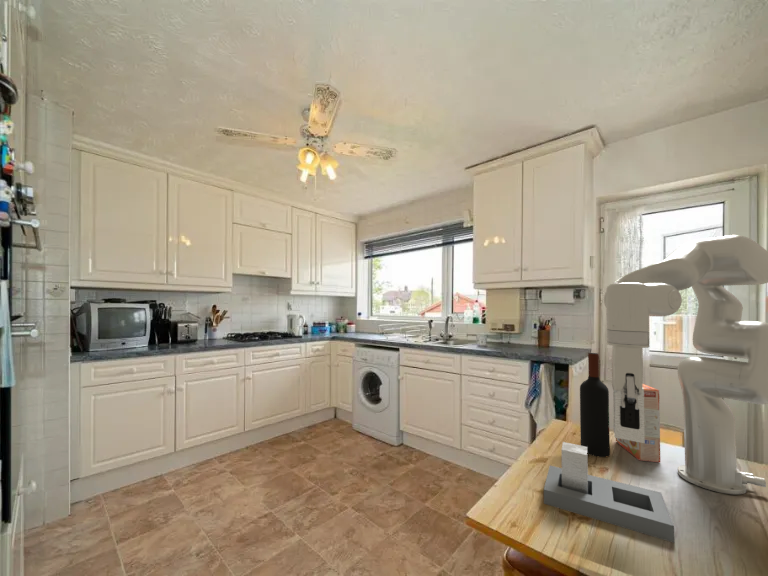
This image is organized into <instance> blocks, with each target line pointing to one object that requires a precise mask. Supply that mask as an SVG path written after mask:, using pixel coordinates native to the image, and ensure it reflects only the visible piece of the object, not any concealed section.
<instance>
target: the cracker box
mask: <svg viewBox="0 0 768 576" xmlns="http://www.w3.org/2000/svg"><path fill="white" fill-rule="evenodd" d="M643 389H644V430H645V443H640V442H635V441H630V440H625V439H619V438H615V442H616V441H617V442H618V443H619V444H618V443H617V442H616V443H617V444H618V445H619V446H621V447H622V448H623V449H625V451H627V452H628V453H629V454H631V455H632V456H633V457H635V458H636V459H637V460H638V461H642V462H652V463H661V425H660V423H661V417H660V414H661V410H660V407H661V406H660V404H661V403H660V390H659V389H657V388H655V387H652V386H650V385H647V384H645V383H643Z"/></svg>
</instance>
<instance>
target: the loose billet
mask: <svg viewBox="0 0 768 576" xmlns="http://www.w3.org/2000/svg"><path fill="white" fill-rule="evenodd" d="M612 390H613V389H612ZM638 391H639V389H638ZM624 392H625V393H627V390H624ZM638 394H639V393H638ZM612 395H613V399H612V400H613V433H614V437H615V439H616V438H619V439H625V440H630V441H635V442H640V443H645V430H644V389H643V388H642V394H641V395H638V409H639V416H640V429H632V428H627V427H622V426H621V424H620V407H622V399H621V391H617V393H616V392H615V391H614V390H613V393H612ZM625 397H627V396H625Z"/></svg>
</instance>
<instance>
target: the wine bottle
mask: <svg viewBox="0 0 768 576" xmlns="http://www.w3.org/2000/svg"><path fill="white" fill-rule="evenodd" d="M587 359H588V360H587V361H588V363H587V364H588V375H587V376H588V377H587V379H586V380H584V381H582V383H581V384H580V385H579V410H580V411H579V412H580V413H579V414H580V415H579V417H580V418H579V421H580V423H579V424H580V428H579V429H580V433H579V434H580V445H581V446H585V447H587V453H588V454H587V455H589V454H590V455H589V456H593V455H594V456H593V457H597V456H599V458H607V457H606V456H608V457H610V456H609V455H611V454H610V453H611V448H610V447H611V446H610V444H611V443H610V399H609V398H610V395H609V393H610V391H609V388H608V386H607V385H606V384H605V383H603V381H601V379H600V362H599V361H600V354H599V352H588V354H587Z"/></svg>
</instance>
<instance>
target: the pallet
mask: <svg viewBox="0 0 768 576" xmlns="http://www.w3.org/2000/svg"><path fill="white" fill-rule="evenodd" d="M543 504H544V505H548V506H551V507H554V508H558V509H561V510H564V511H568V512H571V513H574V514H577V515H581V516H585V517H587V518H590V519H594V520H597V521H601V522H604V523H607V524H610V525H614V526H617V527H621V528H623V529H628V530H631V531H634V532H637V533H640V534H644V535H647V536H651V537H654V538H657V539H660V540H664V541H667V542H670V543H675V525H674V523H673V520H672V517H671V515H670V512H669V510H668V507H667V504H666V502H665V499H664V496H663V493H662V492H660V491H656V490H653V489H649V488H645V487H640V486H636V485H632V484H627V483H624V482H619V481H617V480H613V479H608V478H604V477H599V476H595V475H591V474H588V494H585V493H581V492H577V491H574V490H570V489H566V488H563V487H562V467H558V466H554V465H549V466H548V471H547V475H546V479H545V484H544V487H543Z"/></svg>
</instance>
